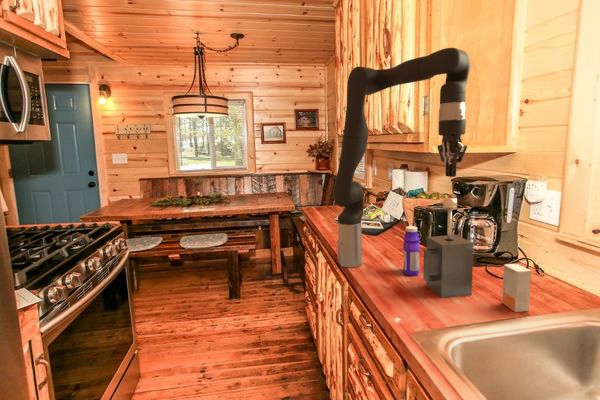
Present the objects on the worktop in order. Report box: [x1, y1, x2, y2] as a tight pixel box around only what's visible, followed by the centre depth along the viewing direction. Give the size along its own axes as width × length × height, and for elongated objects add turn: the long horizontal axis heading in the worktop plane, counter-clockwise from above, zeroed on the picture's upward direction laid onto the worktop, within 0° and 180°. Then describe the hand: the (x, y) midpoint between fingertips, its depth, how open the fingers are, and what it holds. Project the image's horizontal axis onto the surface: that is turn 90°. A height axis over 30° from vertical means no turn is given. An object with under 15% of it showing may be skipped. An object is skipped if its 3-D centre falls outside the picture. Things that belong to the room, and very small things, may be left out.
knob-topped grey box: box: [422, 234, 474, 299], centre depth 115 cm, size 13×10×17 cm
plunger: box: [442, 197, 458, 241], centre depth 113 cm, size 8×8×19 cm
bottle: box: [402, 225, 420, 277], centre depth 131 cm, size 7×6×17 cm
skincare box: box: [501, 263, 532, 313], centre depth 102 cm, size 6×4×12 cm
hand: (450, 176), depth 111 cm, fingers closed
